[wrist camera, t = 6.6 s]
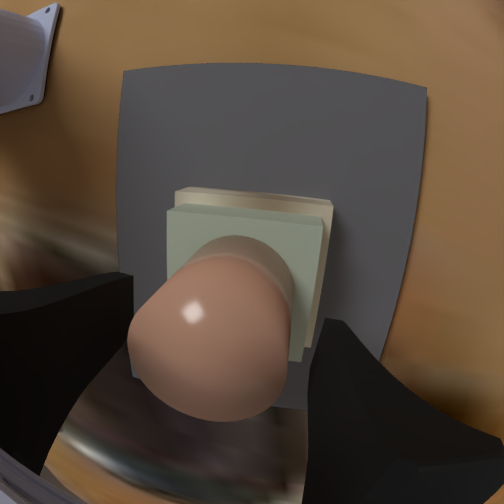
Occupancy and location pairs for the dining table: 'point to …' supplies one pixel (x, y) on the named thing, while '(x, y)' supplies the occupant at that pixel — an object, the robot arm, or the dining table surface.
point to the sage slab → (265, 230)
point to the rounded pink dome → (218, 332)
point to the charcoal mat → (278, 174)
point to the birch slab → (279, 205)
